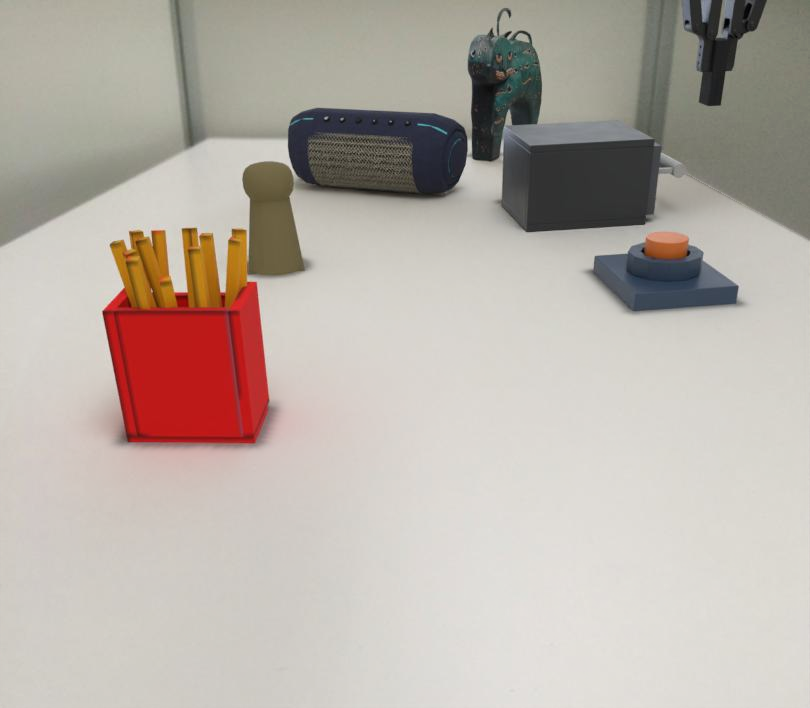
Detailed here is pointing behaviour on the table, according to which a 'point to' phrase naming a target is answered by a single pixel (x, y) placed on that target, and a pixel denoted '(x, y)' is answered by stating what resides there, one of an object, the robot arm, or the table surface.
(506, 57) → the green animal figurine
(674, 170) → the drawer
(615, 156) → the grey box
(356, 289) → the table surface
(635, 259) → the control block
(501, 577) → the table surface
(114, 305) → the french fries container
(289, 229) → the cork
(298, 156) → the portable speaker
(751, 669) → the table surface
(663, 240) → the button
